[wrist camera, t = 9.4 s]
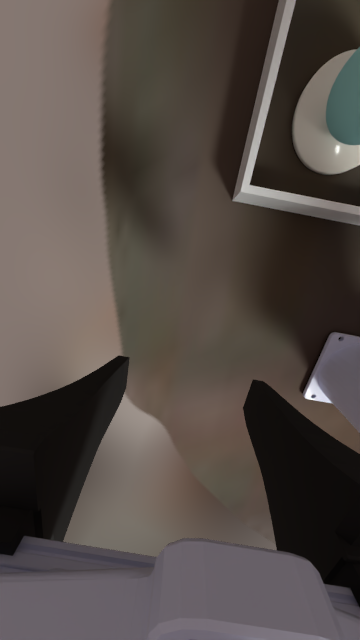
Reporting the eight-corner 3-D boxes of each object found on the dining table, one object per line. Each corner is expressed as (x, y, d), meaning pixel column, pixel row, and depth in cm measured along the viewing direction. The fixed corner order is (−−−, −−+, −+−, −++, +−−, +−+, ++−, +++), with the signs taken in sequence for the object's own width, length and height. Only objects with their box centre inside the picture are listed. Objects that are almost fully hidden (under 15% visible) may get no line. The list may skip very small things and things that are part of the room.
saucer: (411, 66, 14) (418, 60, 14) (364, 182, 17) (369, 180, 16) (313, 45, 14) (317, 39, 14) (278, 165, 17) (281, 163, 16)
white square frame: (481, 14, 13) (559, -48, 11) (381, 230, 18) (418, 226, 15) (285, -29, 13) (311, -104, 10) (232, 200, 18) (240, 191, 15)
